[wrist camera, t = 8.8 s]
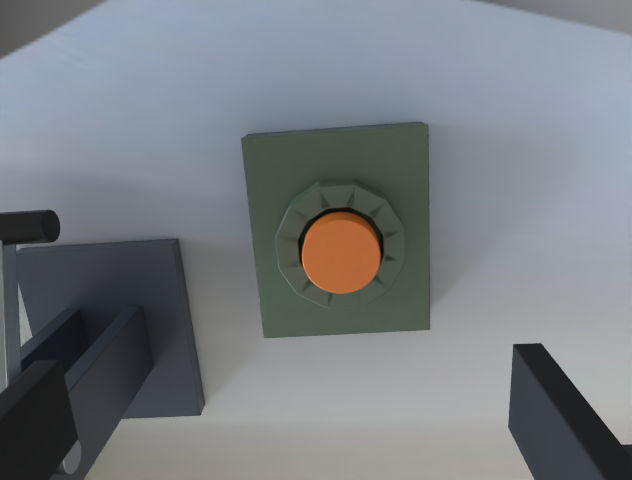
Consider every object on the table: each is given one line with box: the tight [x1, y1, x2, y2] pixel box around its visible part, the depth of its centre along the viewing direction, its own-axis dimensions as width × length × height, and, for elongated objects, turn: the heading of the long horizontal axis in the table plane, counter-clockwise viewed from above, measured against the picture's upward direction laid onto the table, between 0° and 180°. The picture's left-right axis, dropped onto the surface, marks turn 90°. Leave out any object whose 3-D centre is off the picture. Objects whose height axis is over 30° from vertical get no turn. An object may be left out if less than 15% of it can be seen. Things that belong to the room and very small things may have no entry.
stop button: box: [302, 212, 381, 294], centre depth 27 cm, size 4×4×2 cm
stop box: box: [241, 122, 430, 338], centre depth 29 cm, size 12×10×4 cm
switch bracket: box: [16, 239, 205, 480], centre depth 27 cm, size 12×10×14 cm
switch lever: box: [0, 210, 60, 393], centre depth 22 cm, size 12×5×2 cm, turn 5°
